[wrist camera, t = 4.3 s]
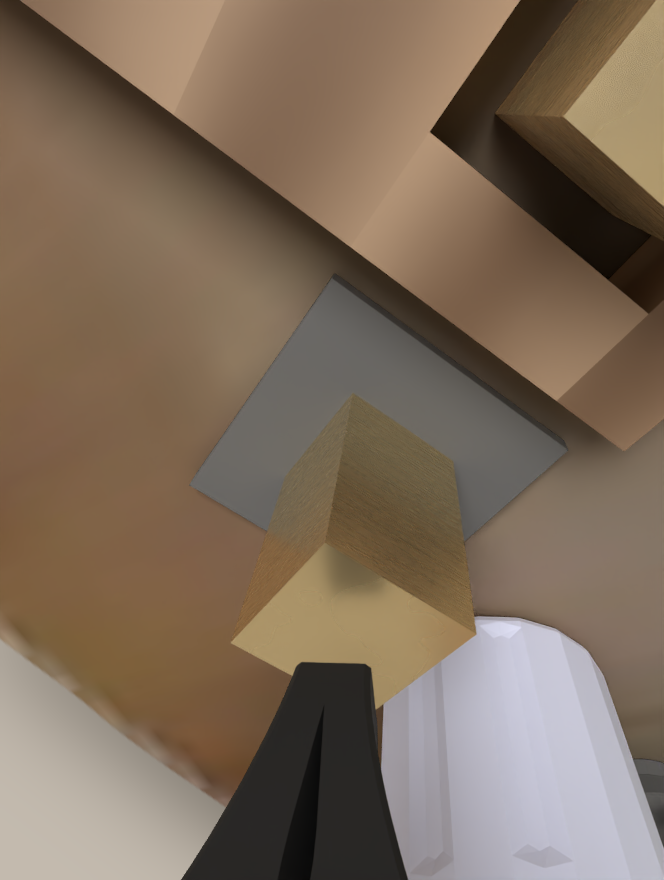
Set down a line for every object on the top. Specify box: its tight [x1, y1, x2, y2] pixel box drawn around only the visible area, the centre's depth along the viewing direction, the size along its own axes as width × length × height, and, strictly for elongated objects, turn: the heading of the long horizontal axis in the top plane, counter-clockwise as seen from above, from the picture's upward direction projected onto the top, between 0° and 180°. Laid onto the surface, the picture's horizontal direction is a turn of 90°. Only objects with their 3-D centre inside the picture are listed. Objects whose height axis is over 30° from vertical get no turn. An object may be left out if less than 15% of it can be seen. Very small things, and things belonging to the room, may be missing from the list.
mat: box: [190, 273, 568, 541], centre depth 19 cm, size 9×9×1 cm
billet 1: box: [231, 393, 477, 709], centre depth 16 cm, size 4×4×7 cm
